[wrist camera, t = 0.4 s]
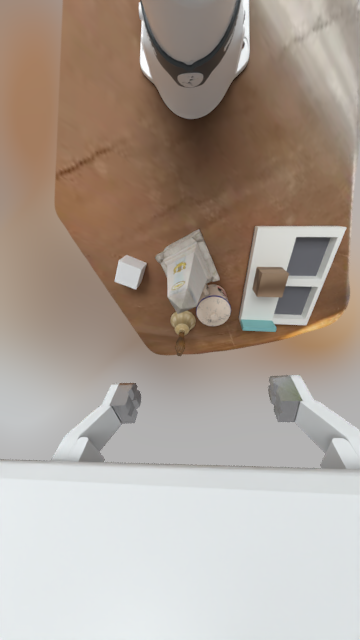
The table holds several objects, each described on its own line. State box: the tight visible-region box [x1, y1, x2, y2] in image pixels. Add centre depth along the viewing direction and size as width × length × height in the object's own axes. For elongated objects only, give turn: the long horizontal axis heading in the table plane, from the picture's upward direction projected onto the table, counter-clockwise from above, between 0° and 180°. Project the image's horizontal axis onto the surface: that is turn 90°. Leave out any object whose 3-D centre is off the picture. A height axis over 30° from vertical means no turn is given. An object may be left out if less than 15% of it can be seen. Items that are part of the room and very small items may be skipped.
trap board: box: [239, 226, 347, 332], centre depth 49 cm, size 26×19×7 cm
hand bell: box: [171, 311, 196, 356], centre depth 56 cm, size 8×8×16 cm
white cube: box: [115, 255, 147, 290], centre depth 52 cm, size 6×6×6 cm
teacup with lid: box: [196, 284, 231, 326], centre depth 52 cm, size 12×9×12 cm
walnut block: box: [252, 267, 289, 297], centre depth 48 cm, size 6×6×5 cm
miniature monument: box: [155, 229, 220, 314], centre depth 39 cm, size 10×10×30 cm
